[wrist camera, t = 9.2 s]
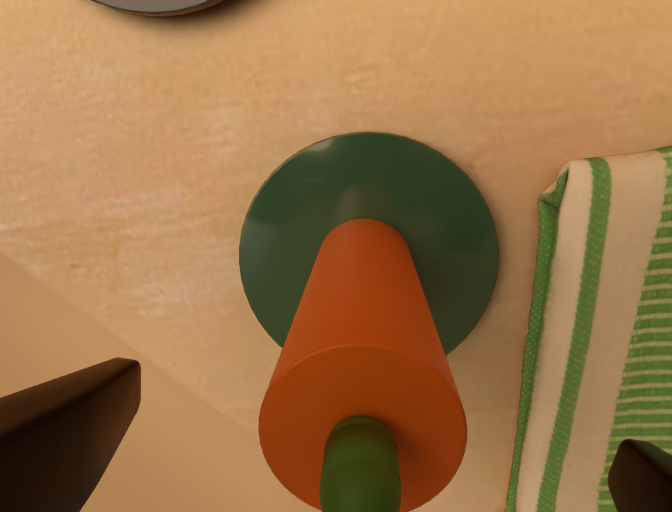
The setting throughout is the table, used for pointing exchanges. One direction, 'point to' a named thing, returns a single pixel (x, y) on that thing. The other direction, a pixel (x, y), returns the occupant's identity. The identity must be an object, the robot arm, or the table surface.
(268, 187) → the saucer
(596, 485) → the dish towel
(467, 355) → the table surface
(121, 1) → the lid
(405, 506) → the carrot
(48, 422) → the robot arm
